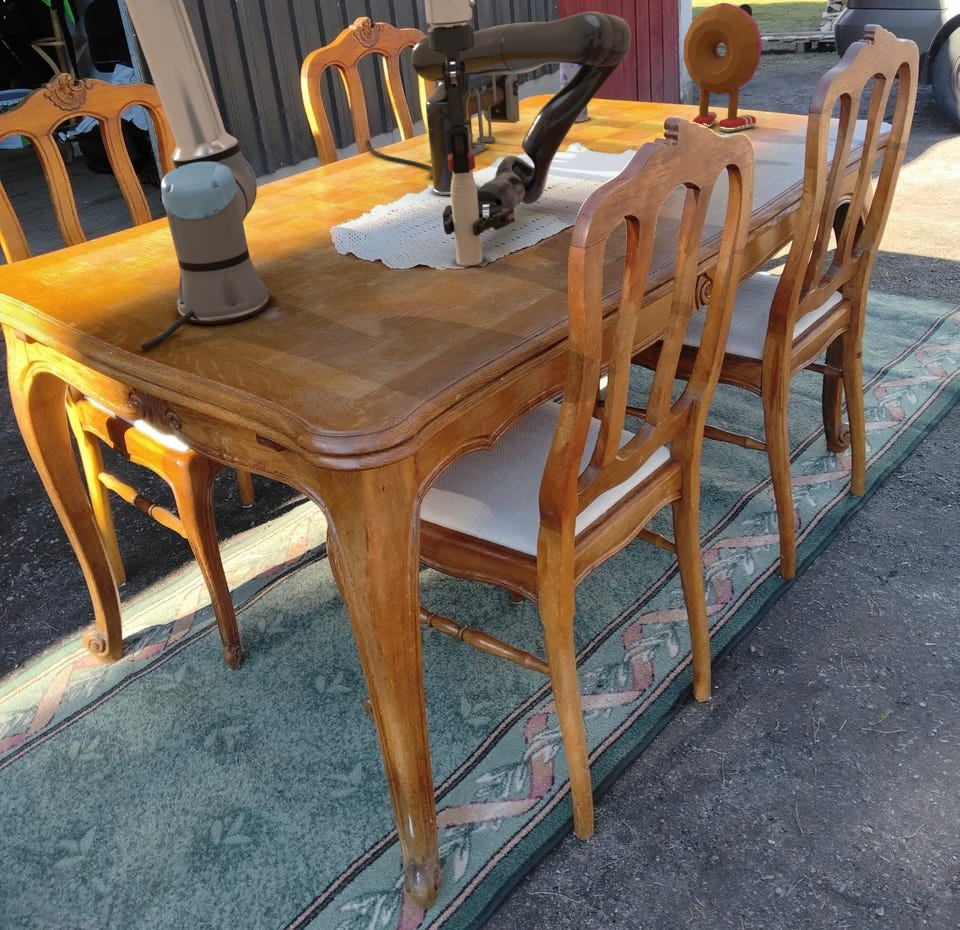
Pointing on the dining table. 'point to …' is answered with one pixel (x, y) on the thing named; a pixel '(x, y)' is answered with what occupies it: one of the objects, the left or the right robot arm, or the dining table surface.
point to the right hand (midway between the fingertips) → (461, 229)
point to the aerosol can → (565, 75)
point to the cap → (471, 161)
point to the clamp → (492, 104)
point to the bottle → (465, 219)
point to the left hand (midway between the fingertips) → (461, 168)
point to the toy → (723, 59)
